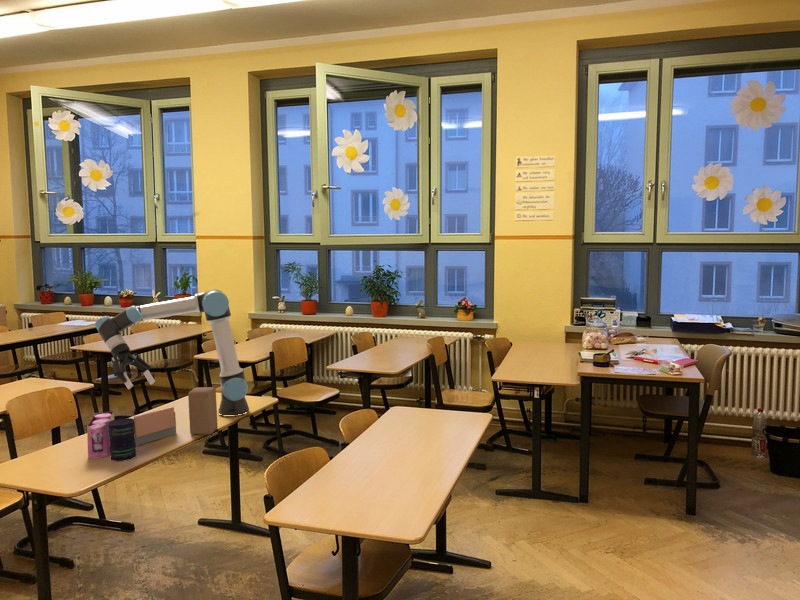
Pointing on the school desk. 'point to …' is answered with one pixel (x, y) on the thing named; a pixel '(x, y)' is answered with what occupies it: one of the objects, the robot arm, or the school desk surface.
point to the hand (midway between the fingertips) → (142, 385)
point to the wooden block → (202, 410)
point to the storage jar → (122, 439)
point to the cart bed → (156, 435)
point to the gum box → (99, 435)
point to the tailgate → (154, 421)
